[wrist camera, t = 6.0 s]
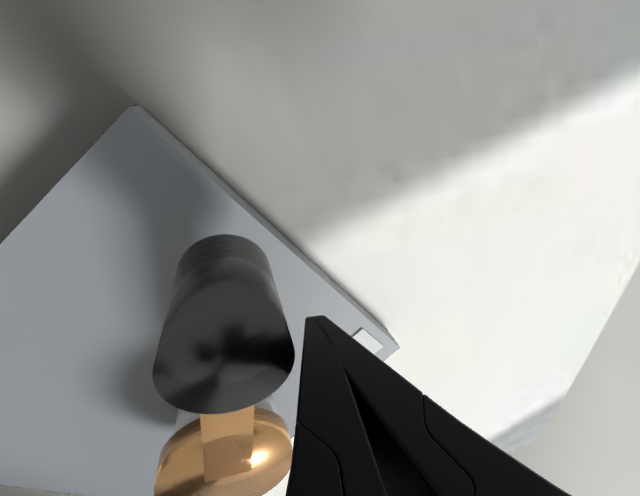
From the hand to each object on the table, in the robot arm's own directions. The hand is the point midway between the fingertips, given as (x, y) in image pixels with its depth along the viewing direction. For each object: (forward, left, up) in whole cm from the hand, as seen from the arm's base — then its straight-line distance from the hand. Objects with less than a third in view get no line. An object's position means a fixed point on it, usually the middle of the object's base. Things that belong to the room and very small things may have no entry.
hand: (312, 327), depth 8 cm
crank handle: (-6, -2, -3) cm, 7 cm away
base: (-9, -2, -7) cm, 11 cm away
